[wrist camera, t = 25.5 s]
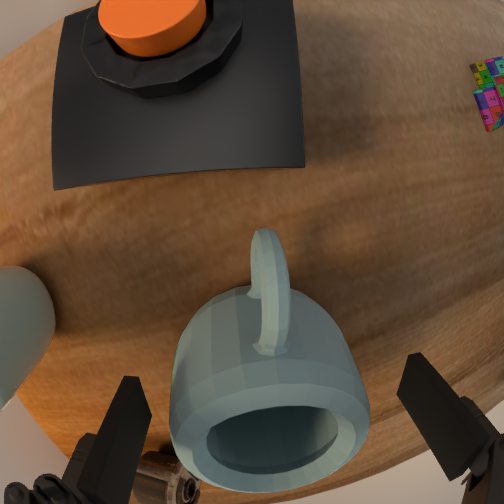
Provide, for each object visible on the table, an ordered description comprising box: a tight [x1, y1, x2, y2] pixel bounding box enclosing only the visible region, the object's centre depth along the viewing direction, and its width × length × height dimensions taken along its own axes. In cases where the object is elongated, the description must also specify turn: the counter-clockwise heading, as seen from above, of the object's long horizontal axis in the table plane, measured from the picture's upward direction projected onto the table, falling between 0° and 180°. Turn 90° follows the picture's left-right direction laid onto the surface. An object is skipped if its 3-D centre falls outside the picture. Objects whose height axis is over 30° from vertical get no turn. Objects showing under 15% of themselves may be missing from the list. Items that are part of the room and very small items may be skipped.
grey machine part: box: [132, 451, 202, 504], centre depth 20 cm, size 7×13×10 cm
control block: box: [52, 0, 305, 191], centre depth 12 cm, size 12×10×7 cm
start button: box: [98, 0, 206, 57], centre depth 8 cm, size 4×4×2 cm
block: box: [470, 56, 504, 132], centre depth 15 cm, size 6×4×3 cm
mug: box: [169, 227, 370, 493], centre depth 15 cm, size 15×11×10 cm
